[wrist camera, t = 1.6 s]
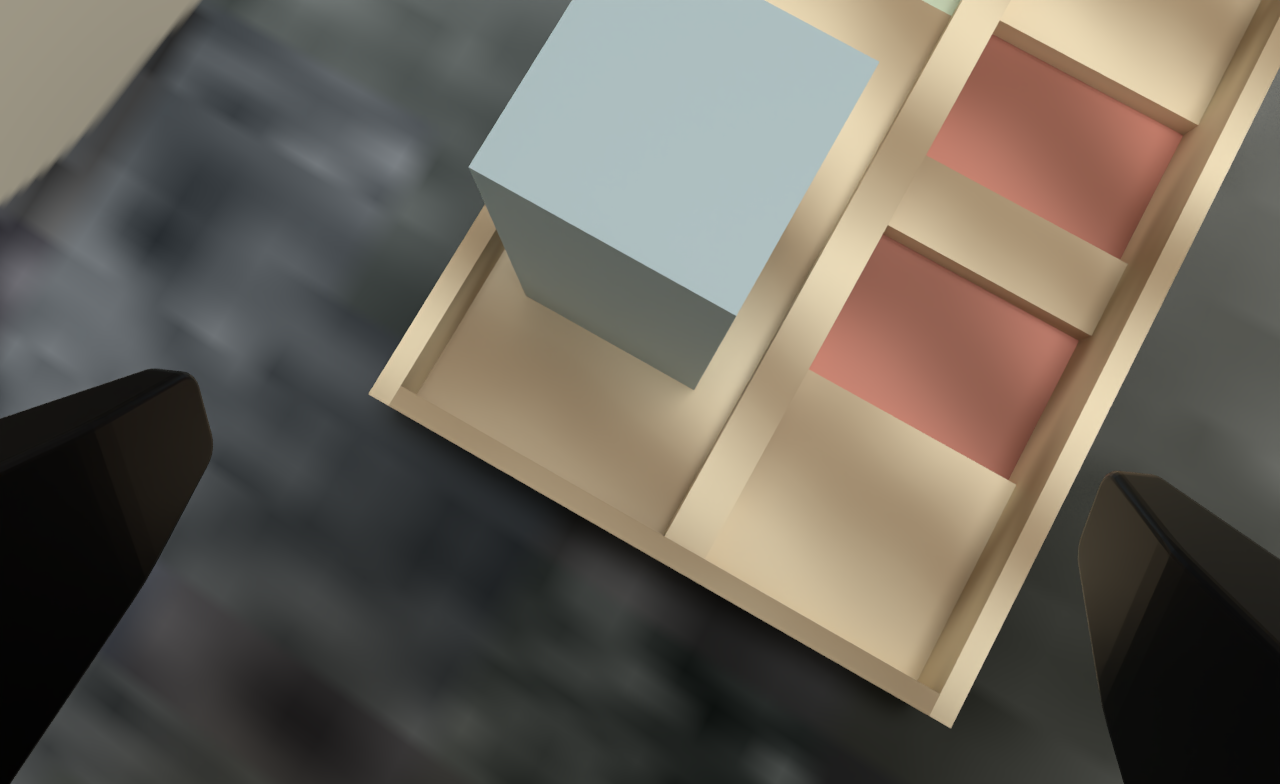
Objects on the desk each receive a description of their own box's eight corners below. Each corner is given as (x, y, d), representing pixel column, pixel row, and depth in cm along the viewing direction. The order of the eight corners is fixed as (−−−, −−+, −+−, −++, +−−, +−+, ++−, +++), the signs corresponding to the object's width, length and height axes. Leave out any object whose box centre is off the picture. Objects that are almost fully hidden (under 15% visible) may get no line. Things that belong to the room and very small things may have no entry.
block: (694, 390, 21) (736, 315, 13) (526, 295, 21) (468, 166, 13) (785, 227, 22) (879, 62, 14) (621, 136, 22) (619, -77, 14)
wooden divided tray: (913, 703, 21) (950, 728, 19) (397, 407, 22) (368, 394, 20) (1279, -24, 24) (1355, -86, 21) (807, -268, 25) (828, -355, 22)
